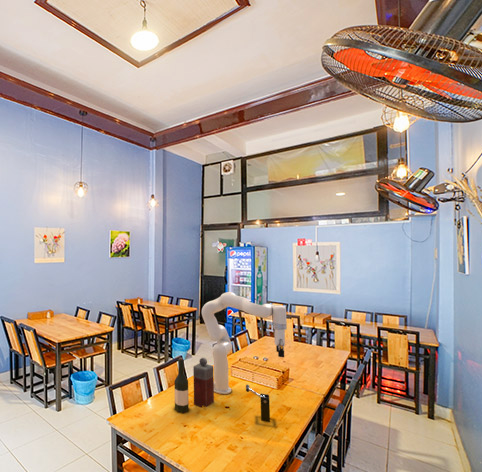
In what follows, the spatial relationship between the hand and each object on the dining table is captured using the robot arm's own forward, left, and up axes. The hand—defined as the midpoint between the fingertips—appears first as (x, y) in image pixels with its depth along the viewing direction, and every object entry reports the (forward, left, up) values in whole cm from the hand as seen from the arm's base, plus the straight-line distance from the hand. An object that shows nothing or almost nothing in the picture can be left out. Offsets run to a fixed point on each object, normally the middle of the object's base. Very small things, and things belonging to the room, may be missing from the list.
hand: (280, 354), depth 190 cm
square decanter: (-44, -13, -31) cm, 55 cm away
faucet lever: (-15, -22, -18) cm, 32 cm away
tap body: (-10, -22, -31) cm, 39 cm away
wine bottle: (-56, -25, -31) cm, 69 cm away
